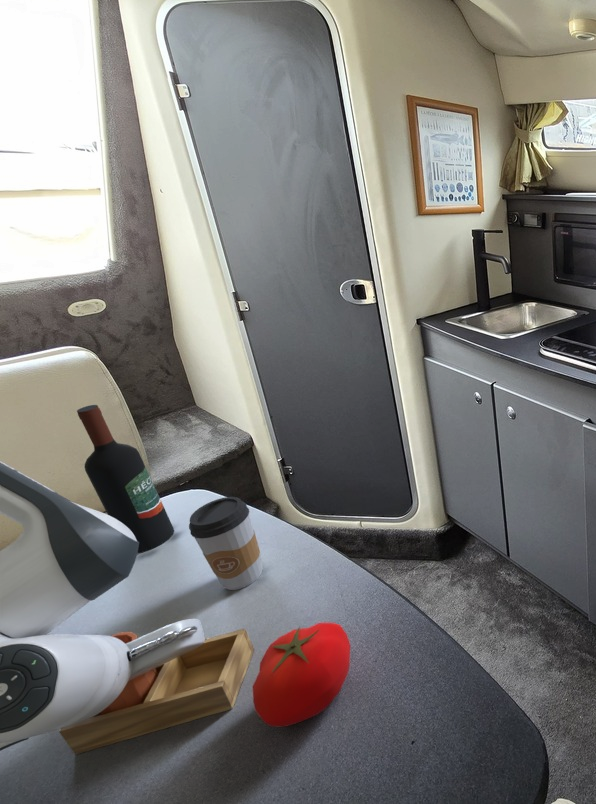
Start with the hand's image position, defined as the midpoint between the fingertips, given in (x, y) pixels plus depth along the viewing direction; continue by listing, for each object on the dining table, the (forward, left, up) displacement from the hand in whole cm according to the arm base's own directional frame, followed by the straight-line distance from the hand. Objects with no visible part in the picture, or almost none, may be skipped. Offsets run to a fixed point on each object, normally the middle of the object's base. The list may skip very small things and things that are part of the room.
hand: (120, 674), depth 66 cm
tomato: (+23, -7, -6) cm, 25 cm away
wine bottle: (-16, +39, -6) cm, 43 cm away
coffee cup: (+6, +21, -6) cm, 23 cm away
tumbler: (0, -1, -5) cm, 5 cm away
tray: (+4, -1, -6) cm, 8 cm away
